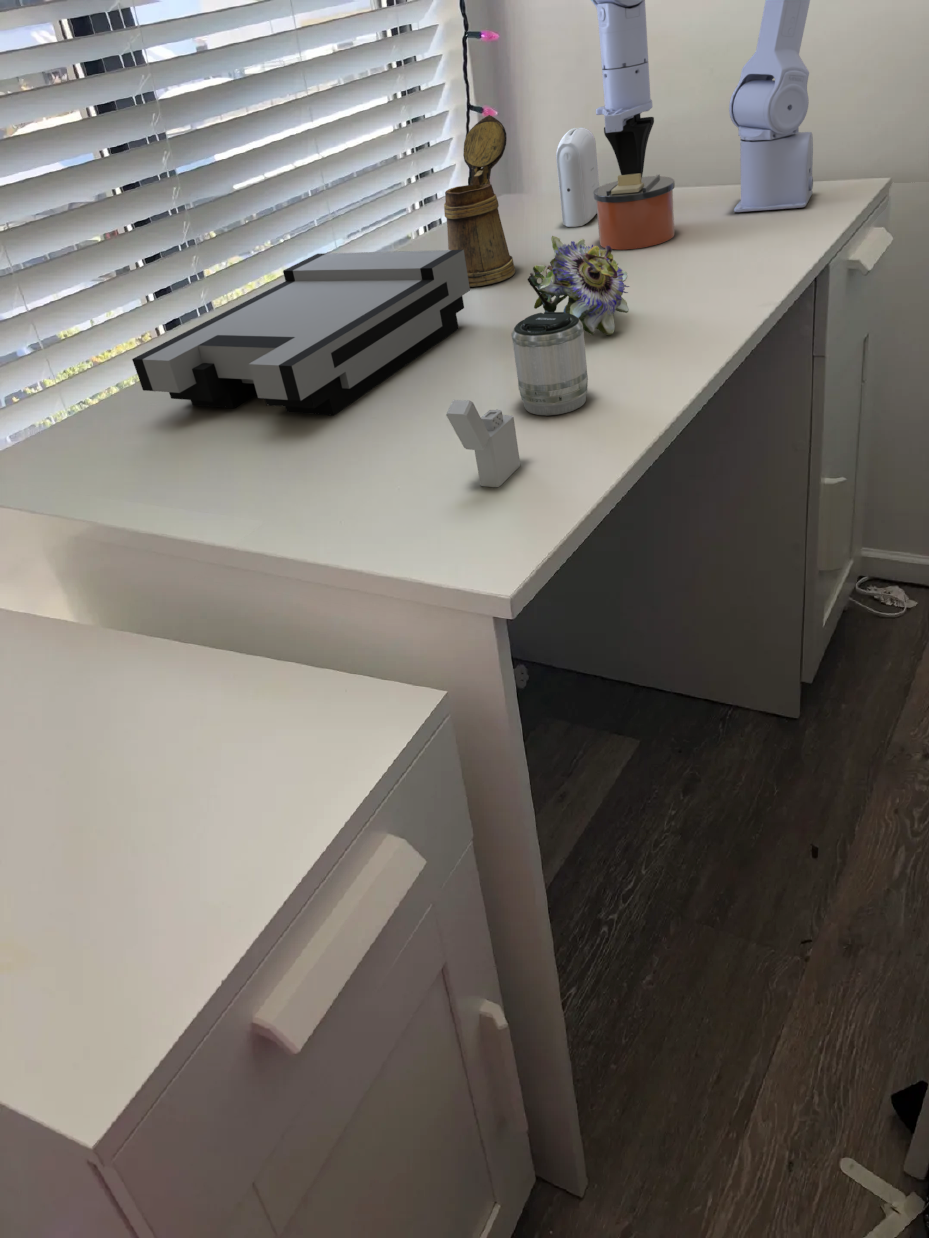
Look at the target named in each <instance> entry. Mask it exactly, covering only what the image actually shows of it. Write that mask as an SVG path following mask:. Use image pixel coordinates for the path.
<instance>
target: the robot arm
mask: <svg viewBox="0 0 929 1238" xmlns="http://www.w3.org/2000/svg"><path fill="white" fill-rule="evenodd" d="M590 1H591V3H592V4H593V5H594V6H595V8H596V14H597V23H598V34H599V47H600V49H599V50H600V60H601V61H600V62H601V75H602V86H603V101H604V106H599V107H597V108H596V109H595V114H596V116H600V115H603V116H604V117H603V119H604V127H603V133H604V136H605V138H606V139H607V141H608V142H609V144H610V146H611V149H612V151H613V153H614V155H615V158H616V162H617V165H618V169H619V172H620V175H627V174H638V173H641V179H642V177H643V174H644V167H645V159H646V151H647V145H648V142H649V137H650V134H651V132H652V129H653V126H654V123H655V117H654V116H647V117H641V115H642V113H646V112H649V111H650V110H651V109H653V100H652V98H651V84H650V83H651V82H650V81H651V80H650V64H649V48H648V28H647V27H648V26H647V11H646V0H590ZM810 3H811V0H765V1H764V7H763V12H762V17H761V21H760V28H759V32H758V38H757V44H756V49H755V52H754V53H753V54H752V55H751V57H750V58H749V59H748V61H746V63H745V64H744V65H743V67H742V68H741V72H740V77H739V81H738V83H737V85H736V87H735V88H734V90H733V92H732V94H731V96H730V99H729V105H728V106H729V107H728V112H729V118H730V121H731V122H732V124H733V125H734V126H735V127H736V128H737V129H738V132H737V133H738V137H740V141H739V142H740V143H739V146H740V147H739V148H740V149H739V151H740V152H739V153H740V200H739V201H738V203H737V204H736V206H735V207H734V208H733V212H734V213H742V212H743V213H744V212H746V213H747V212H759V211H771V210H773V211H775V210H784V209H785V210H787V209H797V208H799V209H800V208H805V207H806V206H807V204H808V202H809V201H810V199H811V197H812V194H813V187H814V177H813V164H814V163H813V161H814V159H813V158H814V157H813V156H814V139H813V138H814V136H813V133H812V131H800V130H799V129H800V126H801V125H802V124H803V122H804V120H805V118H806V116H807V114H808V110H809V95H808V94H809V93H808V83H809V82H808V81H809V77H810V71H809V69H808V68H807V66H806V63H804V61H803V59H802V58H801V55H800V52H801V47H802V43H803V42H802V41H803V37H804V32H805V26H806V24H807V23H806V22H807V17H808V13H809V8H810Z"/></svg>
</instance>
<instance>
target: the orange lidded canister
mask: <svg viewBox="0 0 929 1238" xmlns="http://www.w3.org/2000/svg"><path fill="white" fill-rule="evenodd" d="M641 180H642V183H644V187H643V188H642V189H641V190H640V191H639V192H635V193H623V194H611V190H612V189H614V188H615V187H616V186H617V185H618V180H615V181H613V182H609V183H605V184H603V185H599V187H598V188H597V189H595V190H594V192H593V196H594V199H595V200H596V204H597V213H596V214H597V215H596V216H597V226H598V239H599V240H598V241H599V246H600V247H601V248H604V249H605V246H610V247H611V249H612V250H616V251H617V250H619V251H623V250H625V251H626V250H637V249H643V248H649V247H653V246H657V245H660V244H663V243H666V242H667V241H670V240H672V239H673V238H674V236H675V212H674V191H673V190H674V189H675V187H676V184H675V183H676V181H675V179H674V178H672V177H670V176H661V174H656V175H651V176H649V175H648V176H642V179H641Z"/></svg>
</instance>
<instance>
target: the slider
mask: <svg viewBox="0 0 929 1238" xmlns="http://www.w3.org/2000/svg"><path fill="white" fill-rule="evenodd" d="M617 181H618V185H617V186H616V187H615V188H614V189H612V190H611V194H623V193H635V192H639V191H640V190H641V189H642V188H643V187H644V183H642V180H641V173H638V174H627V175H621V174H618V175H617Z"/></svg>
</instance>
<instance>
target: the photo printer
mask: <svg viewBox="0 0 929 1238" xmlns="http://www.w3.org/2000/svg"><path fill="white" fill-rule="evenodd" d="M555 160H556V161H555V162H556V168H557V170H556V171H557V178H558V179H557V181H558V190H559V199H560V209H561V219H562V224H563V226H566V227H567V228H578V227H583V226H584V225H585V224H588V223H589V222H591V220H592V219H593V218H595V216H597V215H596V214H597V204H596V200H595V199H594V196H593V192H594V190H595V189H597V188H598V187H600V177H599V165H598V153H597V141H596V138H595V136H594V134H593V132H592V131H591V130H590V129H589V128H586V127H583V126H582V127H573V128H570V129H569V130H568V131H567V132H565V134H564V135H563V136H562V138H561V139H560V141H559V143H558V145H557V147H556V155H555Z"/></svg>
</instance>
